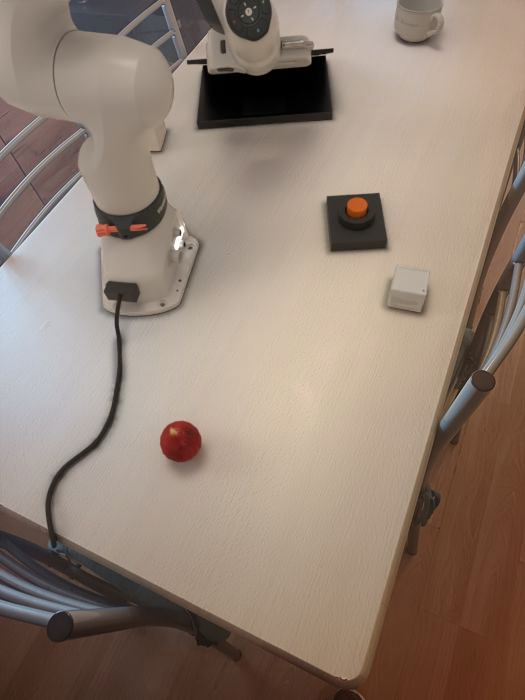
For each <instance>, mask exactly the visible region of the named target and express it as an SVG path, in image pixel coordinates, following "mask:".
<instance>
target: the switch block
mask: <svg viewBox="0 0 525 700" xmlns="http://www.w3.org/2000/svg"><path fill="white" fill-rule="evenodd" d="M352 198H362V199H364V200H366V202H367V204H368V206H367V213H366V215H365V216H364V217H362V218H356V219H355V218H352V217H350V216H348V214H347V203H348V201H349V200H350V199H352ZM325 200H326V201H325V204H326V206H325V207H326V216H327V226H328V228H327V229H328V236H329V248H330V249H329V250H330V252H344V251H362V250H381V249H386V248H387V244H388V235H387V229H386V224H385V218H384V212H383V206H382V205H383V204H382V200H381V194H380V192H370V193H369V192H368V193H354V194H352V193H351V194H338V195H337V194H336V195H326V199H325Z"/></svg>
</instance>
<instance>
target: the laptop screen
mask: <svg viewBox="0 0 525 700" xmlns="http://www.w3.org/2000/svg"><path fill="white" fill-rule="evenodd" d="M334 51H335V49H334V48H333V47H330V48H318V49H313V50H311V56H321V55H329V54H334V53H335V52H334ZM186 65H189V66H190V65H193V66H195V65H196V66H197V65H198V66H199V65H200V66H203V65H207V58H196V59H186Z"/></svg>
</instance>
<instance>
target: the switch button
mask: <svg viewBox="0 0 525 700" xmlns="http://www.w3.org/2000/svg"><path fill="white" fill-rule="evenodd" d="M367 206H368V204H367V202H366V200H364V199H362V198H352V199H350V200H349V201H348V203H347V214H348V216H350V217H352V218H355V219H356V218H362V217H364V216H365V215H366V213H367Z"/></svg>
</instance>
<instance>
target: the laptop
mask: <svg viewBox="0 0 525 700" xmlns="http://www.w3.org/2000/svg"><path fill="white" fill-rule="evenodd" d="M327 61H328V60H327V54H325V55H318V56H311V64H310V65H308V66H305V67H294V68H282V69H272V70H271V71H269V72H268V73H266V74H263V75H258V76H255V75H250V74H247V73H239V72H235V73H223V74H210V73H209V72H208V67H207V64H203V65H202V68H201V76H200V77H201V80H200V86H199V87H200V88H199V98H198V106H197V118H196V125H197V129H198V130H203V129H204V130H205V129H216V128H218V129H219V128H232V127H243V126H245V127H246V126H259V125H272V124H273V125H274V124H284V123H285V124H287V123H298V122H299V123H300V122H312V121H327V120H333V105H332V95H331V88H330V79H329V78H330V77H329V71H328V70H329V69H328V62H327Z"/></svg>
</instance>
